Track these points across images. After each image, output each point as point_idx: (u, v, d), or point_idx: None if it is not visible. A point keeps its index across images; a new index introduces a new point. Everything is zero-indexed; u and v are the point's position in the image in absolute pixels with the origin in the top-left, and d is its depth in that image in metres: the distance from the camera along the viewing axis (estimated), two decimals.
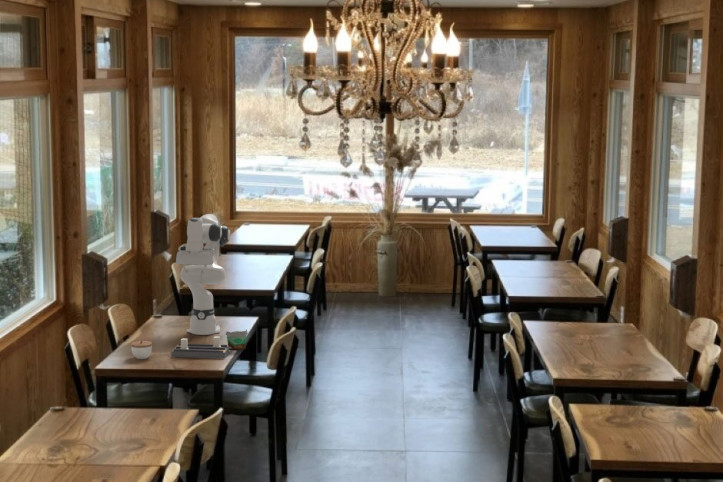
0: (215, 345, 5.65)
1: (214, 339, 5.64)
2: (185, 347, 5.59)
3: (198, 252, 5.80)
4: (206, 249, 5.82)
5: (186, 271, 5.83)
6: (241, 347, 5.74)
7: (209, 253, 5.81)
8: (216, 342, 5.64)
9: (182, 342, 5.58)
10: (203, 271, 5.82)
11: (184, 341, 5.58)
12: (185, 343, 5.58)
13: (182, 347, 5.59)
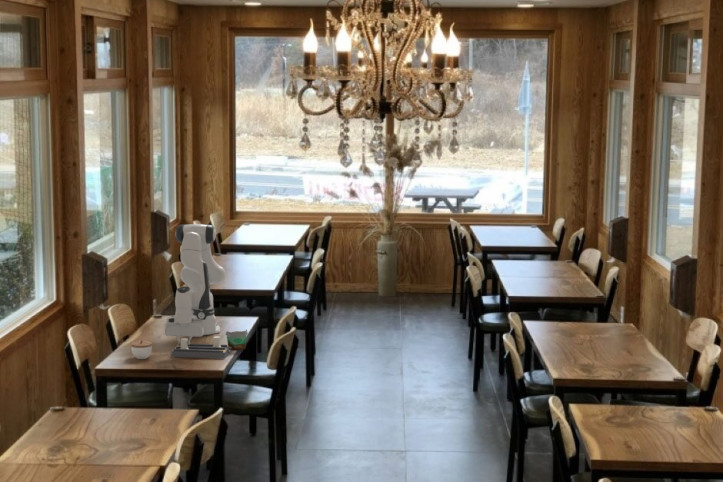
0: (215, 345, 5.65)
1: (214, 339, 5.64)
2: (185, 347, 5.59)
3: (187, 324, 5.56)
4: (195, 320, 5.57)
5: (180, 343, 5.59)
6: (241, 347, 5.74)
7: (199, 325, 5.56)
8: (216, 342, 5.64)
9: (182, 342, 5.58)
10: (188, 343, 5.59)
11: (184, 341, 5.58)
12: (185, 343, 5.58)
13: (182, 347, 5.59)
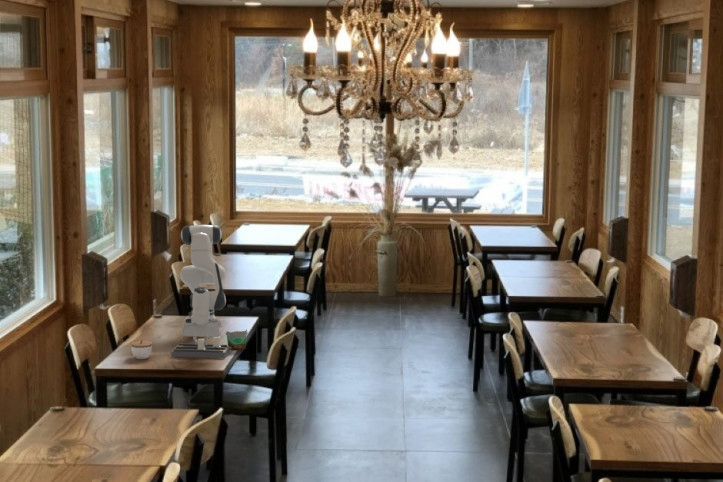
0: (215, 345, 5.65)
1: (214, 339, 5.64)
2: (202, 347, 5.58)
3: (204, 324, 5.56)
4: (212, 321, 5.57)
5: (197, 343, 5.59)
6: (241, 347, 5.74)
7: (216, 325, 5.56)
8: (216, 342, 5.64)
9: (199, 342, 5.58)
10: (205, 343, 5.59)
11: (201, 341, 5.58)
12: (202, 343, 5.58)
13: (199, 347, 5.58)
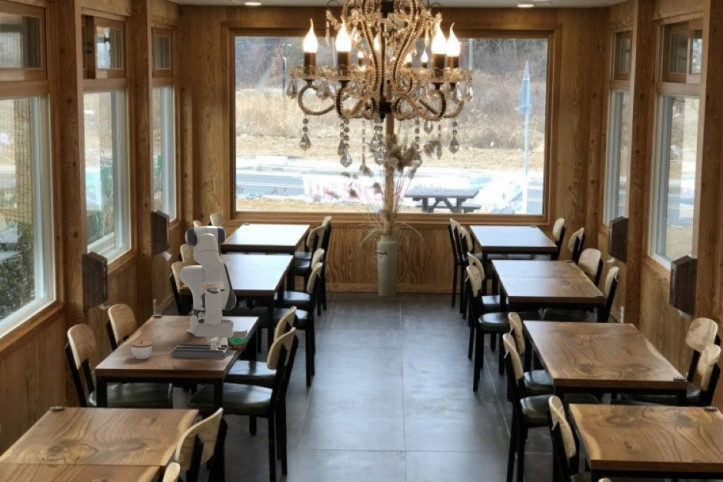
0: None
1: None
2: (215, 348, 5.58)
3: (217, 324, 5.55)
4: (225, 321, 5.57)
5: (210, 344, 5.59)
6: (241, 347, 5.74)
7: (228, 325, 5.56)
8: None
9: (212, 343, 5.58)
10: (218, 343, 5.58)
11: (214, 342, 5.58)
12: (215, 344, 5.58)
13: (212, 348, 5.58)
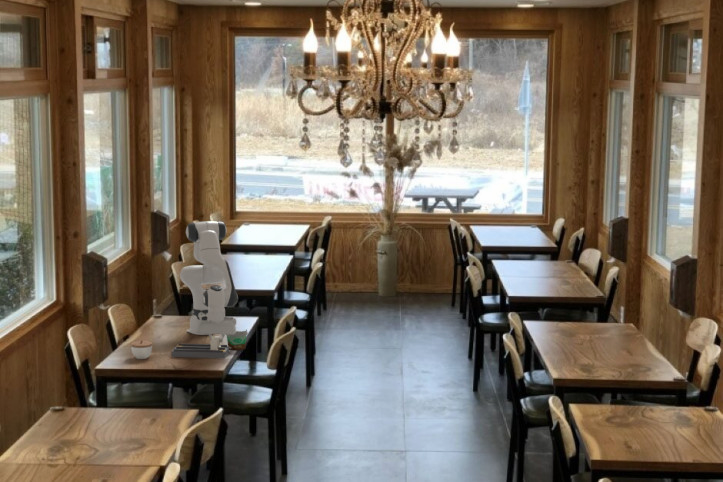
0: None
1: None
2: (215, 348, 5.58)
3: (220, 322, 5.62)
4: (228, 318, 5.63)
5: None
6: (241, 347, 5.74)
7: (231, 323, 5.62)
8: None
9: (212, 343, 5.58)
10: (221, 340, 5.65)
11: (214, 342, 5.58)
12: (215, 344, 5.58)
13: (212, 348, 5.58)
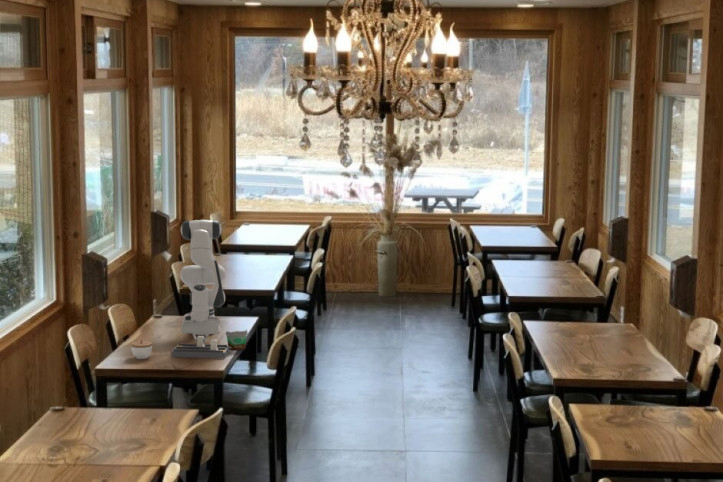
0: (199, 345, 5.65)
1: (198, 339, 5.64)
2: (215, 348, 5.58)
3: (204, 321, 5.62)
4: (212, 318, 5.64)
5: (196, 340, 5.65)
6: (241, 347, 5.74)
7: (215, 322, 5.62)
8: (200, 342, 5.65)
9: (212, 343, 5.58)
10: (204, 340, 5.65)
11: (214, 342, 5.58)
12: (215, 344, 5.58)
13: (212, 348, 5.58)
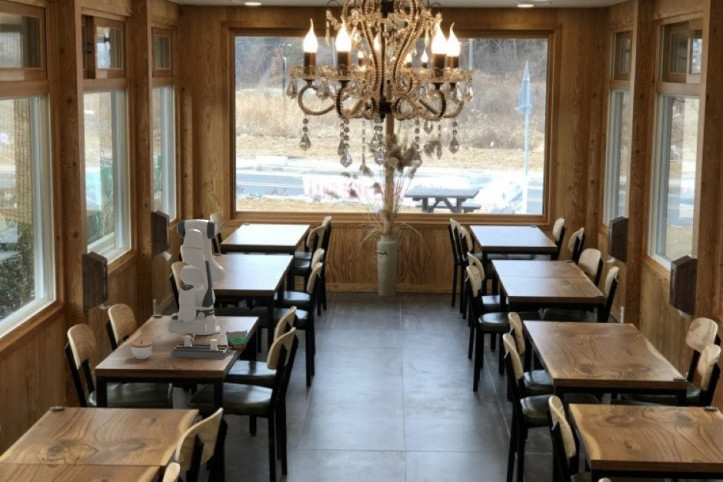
0: (186, 344, 5.65)
1: (185, 338, 5.65)
2: (215, 348, 5.58)
3: (191, 321, 5.63)
4: (199, 317, 5.64)
5: (183, 340, 5.66)
6: (241, 347, 5.74)
7: (202, 322, 5.63)
8: (187, 341, 5.65)
9: (212, 343, 5.58)
10: (192, 340, 5.65)
11: (214, 342, 5.58)
12: (215, 344, 5.58)
13: (212, 348, 5.58)
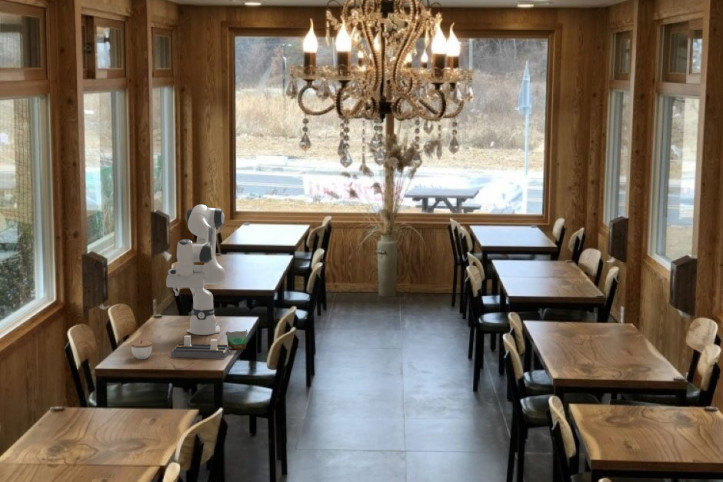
0: (186, 344, 5.65)
1: (185, 338, 5.65)
2: (215, 348, 5.58)
3: (188, 275, 5.66)
4: (197, 272, 5.68)
5: (177, 294, 5.69)
6: (241, 347, 5.74)
7: (200, 276, 5.66)
8: (187, 341, 5.65)
9: (212, 343, 5.58)
10: (194, 294, 5.69)
11: (214, 342, 5.58)
12: (215, 344, 5.58)
13: (212, 348, 5.58)
